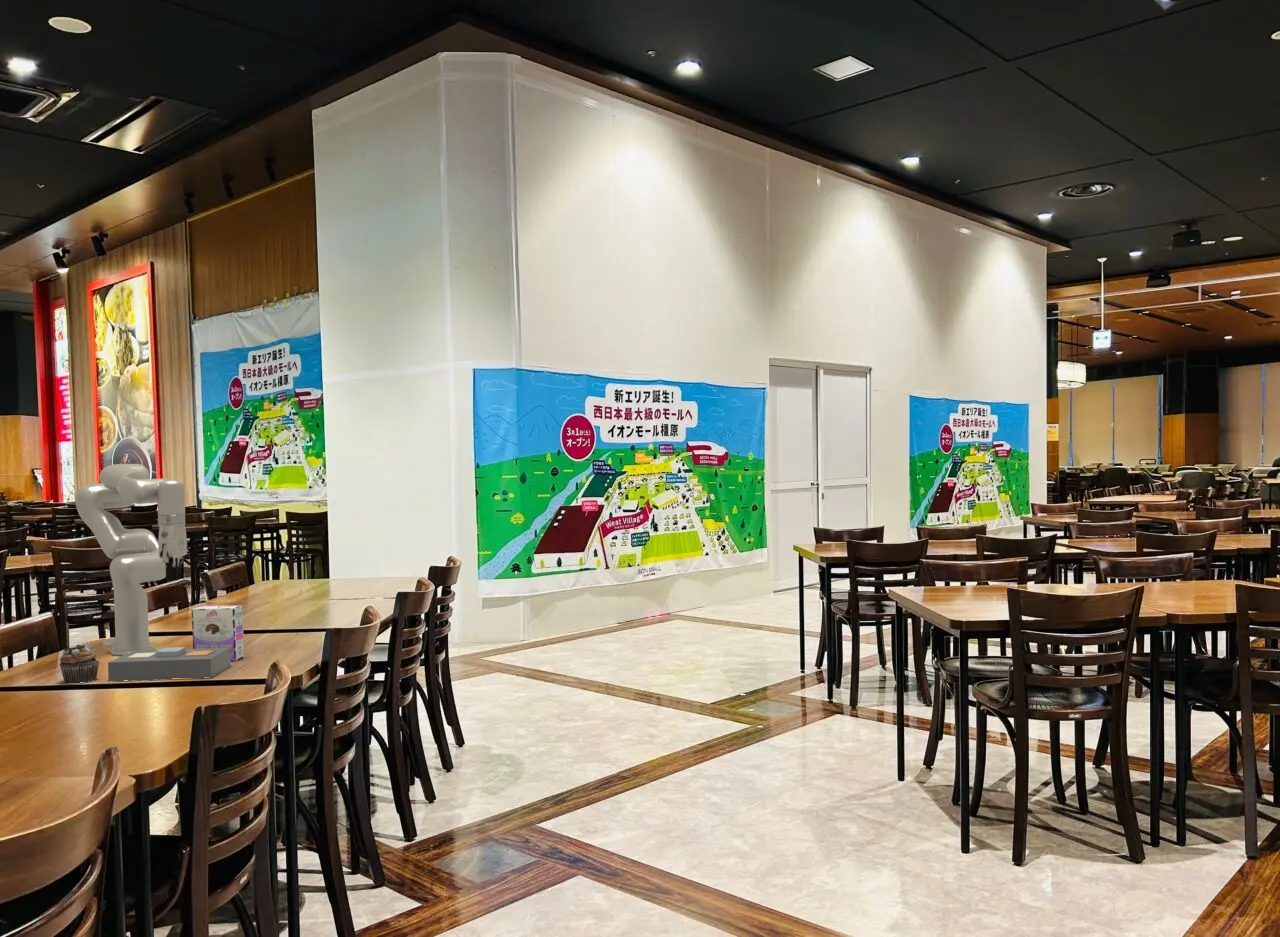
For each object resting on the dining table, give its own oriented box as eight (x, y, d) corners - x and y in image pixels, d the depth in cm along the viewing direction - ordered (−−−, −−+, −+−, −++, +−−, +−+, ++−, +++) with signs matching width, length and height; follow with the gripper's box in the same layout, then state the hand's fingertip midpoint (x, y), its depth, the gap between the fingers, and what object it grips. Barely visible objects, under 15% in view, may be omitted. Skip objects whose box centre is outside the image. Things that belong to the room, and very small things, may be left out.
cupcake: (82, 685, 269) (81, 649, 269) (52, 684, 271) (51, 648, 271) (107, 677, 279) (106, 642, 278) (78, 676, 280) (77, 641, 280)
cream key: (127, 669, 278) (126, 657, 278) (136, 665, 284) (136, 653, 284) (149, 668, 278) (148, 656, 278) (157, 664, 284) (157, 652, 284)
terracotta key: (185, 667, 279) (184, 655, 279) (193, 663, 285) (192, 651, 285) (206, 666, 279) (206, 654, 279) (214, 662, 285) (214, 650, 285)
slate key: (156, 664, 278) (155, 651, 278) (164, 659, 284) (164, 647, 284) (177, 663, 279) (177, 651, 279) (186, 659, 285) (185, 647, 285)
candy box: (245, 657, 302) (243, 604, 302) (235, 661, 296) (233, 607, 296) (202, 657, 304) (201, 605, 303) (192, 661, 298) (190, 608, 297)
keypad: (108, 681, 272) (107, 662, 272) (133, 669, 288) (133, 650, 288) (211, 678, 274) (210, 658, 274) (231, 665, 290) (230, 647, 290)
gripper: (173, 522, 292) (173, 583, 293) (194, 518, 307) (194, 576, 308) (147, 522, 292) (148, 583, 293) (170, 518, 307) (170, 576, 308)
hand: (172, 579), depth 300 cm, fingers closed
